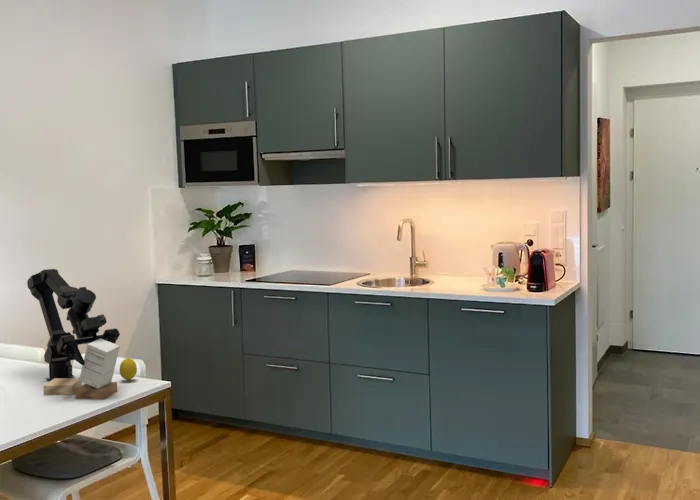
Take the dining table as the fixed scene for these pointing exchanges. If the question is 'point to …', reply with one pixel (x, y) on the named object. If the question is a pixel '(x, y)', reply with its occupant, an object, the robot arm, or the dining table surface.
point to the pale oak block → (62, 386)
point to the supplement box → (99, 363)
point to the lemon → (128, 369)
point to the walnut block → (96, 391)
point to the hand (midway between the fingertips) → (98, 362)
